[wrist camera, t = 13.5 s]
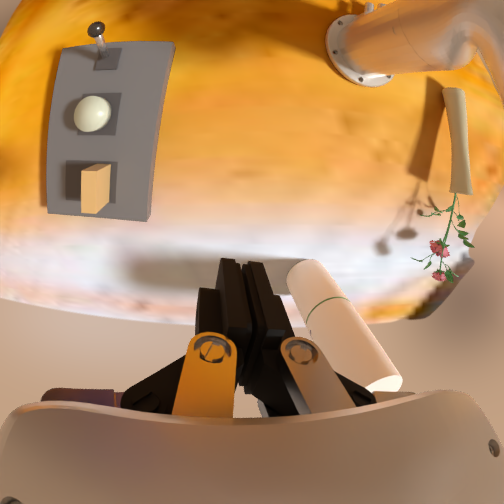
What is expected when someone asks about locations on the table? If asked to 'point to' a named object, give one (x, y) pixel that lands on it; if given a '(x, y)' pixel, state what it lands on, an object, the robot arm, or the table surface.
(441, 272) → the flower vase
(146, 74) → the control panel
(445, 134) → the table surface
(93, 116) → the push button
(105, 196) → the paddle switch
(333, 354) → the cylindrical container
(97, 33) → the toggle lever
